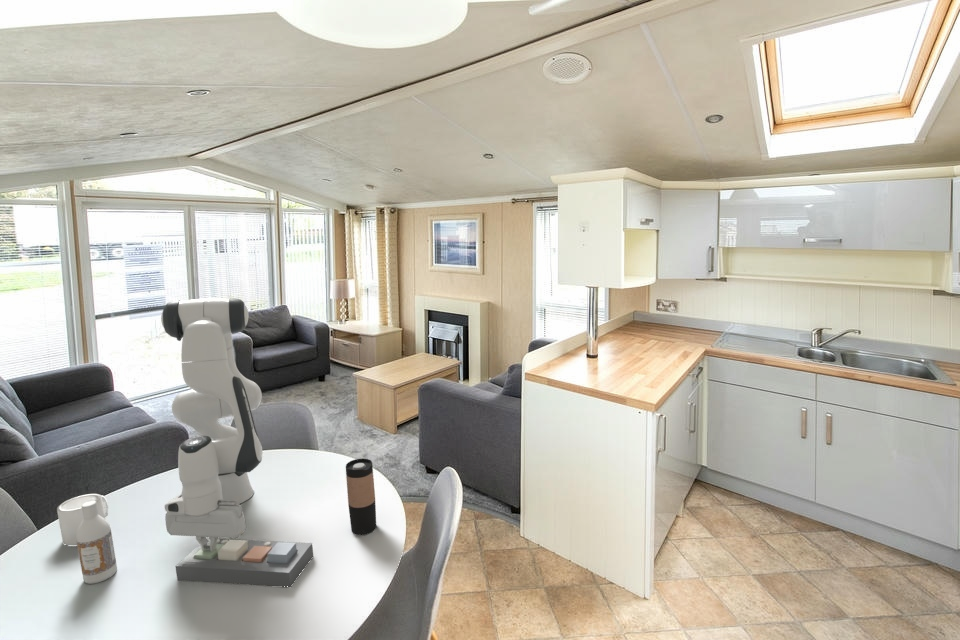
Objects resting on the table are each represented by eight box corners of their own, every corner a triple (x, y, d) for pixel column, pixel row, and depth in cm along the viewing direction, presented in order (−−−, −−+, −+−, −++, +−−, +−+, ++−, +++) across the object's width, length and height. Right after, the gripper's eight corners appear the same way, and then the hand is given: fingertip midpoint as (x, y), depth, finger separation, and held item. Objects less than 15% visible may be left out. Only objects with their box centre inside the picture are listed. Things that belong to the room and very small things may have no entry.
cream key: (219, 565, 126) (217, 551, 125) (231, 553, 131) (229, 539, 130) (237, 566, 125) (235, 552, 125) (249, 554, 130) (247, 540, 130)
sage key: (195, 569, 127) (193, 555, 126) (208, 557, 132) (207, 543, 131) (213, 570, 126) (211, 556, 126) (225, 558, 131) (224, 544, 131)
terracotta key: (244, 572, 125) (242, 557, 125) (255, 559, 130) (254, 545, 130) (262, 573, 125) (261, 558, 124) (273, 560, 129) (272, 546, 129)
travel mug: (352, 522, 148) (347, 459, 145) (378, 520, 148) (374, 457, 145) (348, 537, 140) (342, 470, 137) (375, 534, 141) (370, 469, 138)
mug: (89, 521, 154) (83, 489, 152) (122, 519, 154) (117, 487, 152) (53, 547, 140) (47, 512, 139) (90, 545, 141) (84, 510, 139)
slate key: (268, 568, 124) (267, 553, 123) (279, 556, 129) (277, 542, 128) (287, 569, 123) (285, 554, 123) (297, 557, 128) (295, 542, 128)
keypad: (177, 580, 124) (175, 564, 123) (209, 551, 136) (207, 536, 135) (290, 587, 120) (288, 571, 119) (313, 556, 132) (312, 542, 131)
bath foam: (77, 587, 123) (64, 512, 120) (92, 569, 130) (80, 498, 127) (109, 581, 125) (97, 508, 121) (122, 564, 131) (111, 494, 128)
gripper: (248, 495, 128) (253, 544, 130) (176, 493, 131) (183, 541, 133) (232, 508, 122) (239, 559, 124) (158, 505, 125) (165, 555, 127)
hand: (209, 549), depth 128 cm, fingers closed, pressing on sage key
